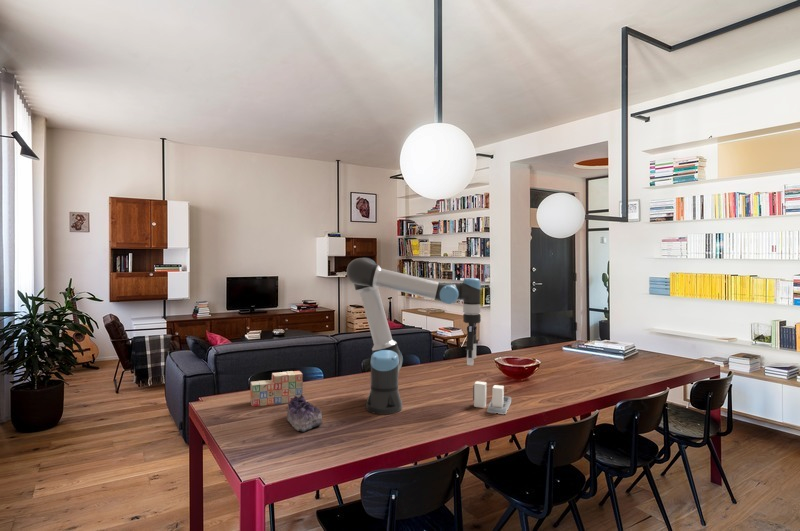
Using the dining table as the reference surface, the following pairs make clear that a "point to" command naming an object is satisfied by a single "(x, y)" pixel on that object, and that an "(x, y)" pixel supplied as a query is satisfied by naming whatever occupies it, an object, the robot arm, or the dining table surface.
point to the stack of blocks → (277, 389)
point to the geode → (303, 414)
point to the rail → (497, 409)
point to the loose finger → (479, 394)
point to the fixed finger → (498, 396)
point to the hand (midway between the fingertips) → (471, 361)
